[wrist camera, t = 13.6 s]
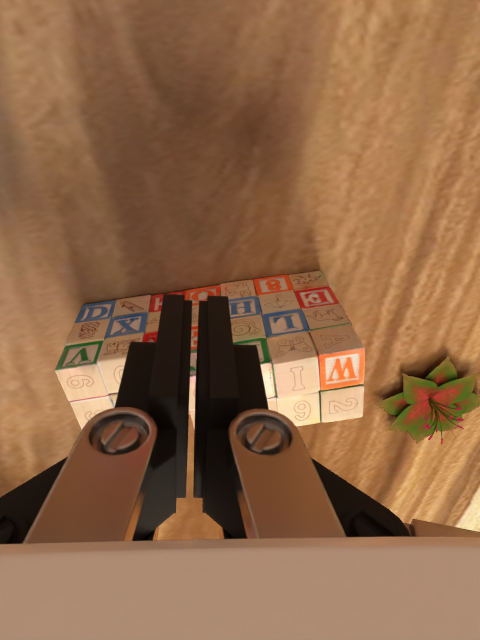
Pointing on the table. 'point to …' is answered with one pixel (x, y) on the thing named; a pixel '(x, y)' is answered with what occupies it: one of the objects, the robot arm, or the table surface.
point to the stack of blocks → (247, 329)
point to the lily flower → (432, 402)
